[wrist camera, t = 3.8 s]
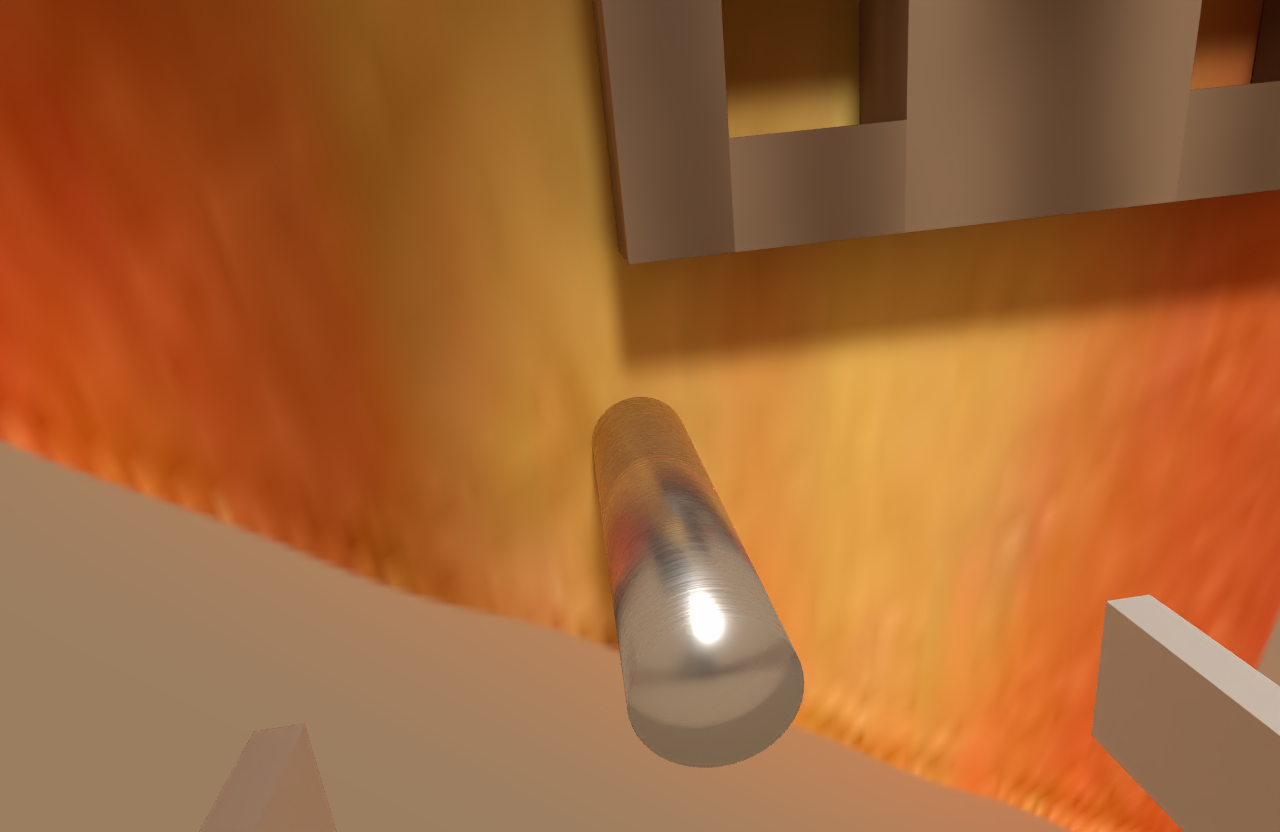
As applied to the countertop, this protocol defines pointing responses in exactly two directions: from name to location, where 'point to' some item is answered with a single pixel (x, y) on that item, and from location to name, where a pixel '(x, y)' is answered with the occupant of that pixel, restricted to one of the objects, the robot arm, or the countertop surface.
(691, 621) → the pin
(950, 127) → the board
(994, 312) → the countertop surface
